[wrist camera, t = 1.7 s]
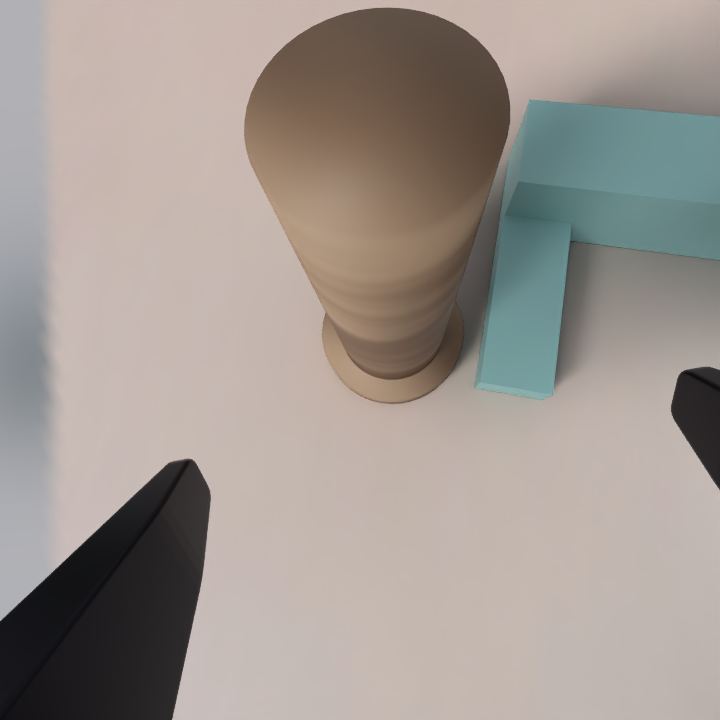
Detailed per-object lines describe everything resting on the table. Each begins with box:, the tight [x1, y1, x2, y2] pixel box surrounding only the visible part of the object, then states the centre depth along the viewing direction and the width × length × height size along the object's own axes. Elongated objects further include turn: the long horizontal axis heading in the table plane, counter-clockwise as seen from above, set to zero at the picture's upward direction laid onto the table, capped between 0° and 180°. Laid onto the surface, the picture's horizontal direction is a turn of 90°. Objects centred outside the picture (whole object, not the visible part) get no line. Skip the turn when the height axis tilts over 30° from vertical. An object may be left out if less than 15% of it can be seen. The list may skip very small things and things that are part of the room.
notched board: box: [475, 100, 720, 400], centre depth 18 cm, size 12×16×4 cm
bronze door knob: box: [244, 8, 510, 404], centre depth 14 cm, size 6×6×14 cm
